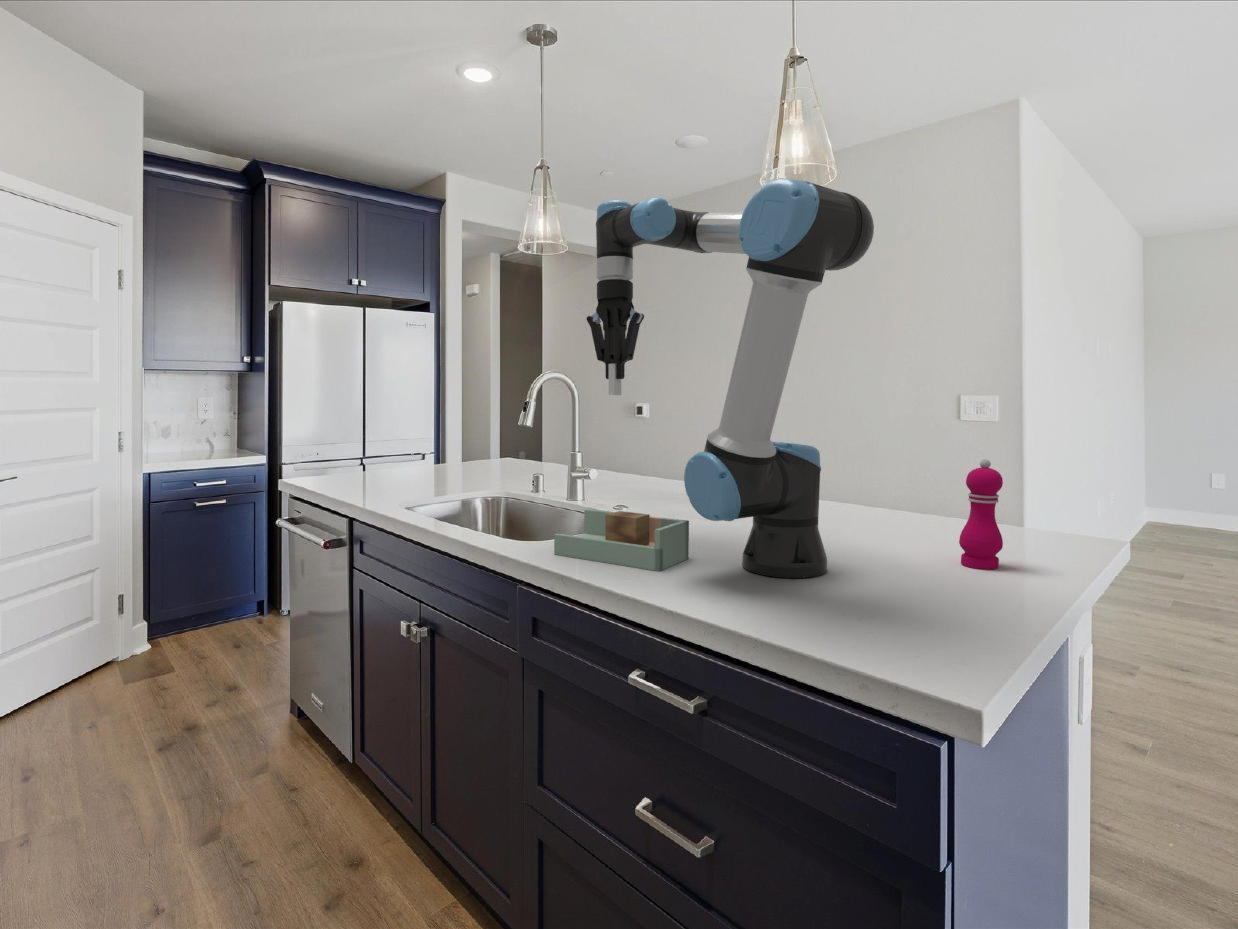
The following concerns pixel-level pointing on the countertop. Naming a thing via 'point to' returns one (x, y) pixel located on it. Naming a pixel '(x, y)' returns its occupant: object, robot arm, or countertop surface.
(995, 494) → the pepper mill
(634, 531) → the block
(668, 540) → the green open tray
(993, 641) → the countertop surface
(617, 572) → the countertop surface
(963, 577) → the countertop surface
